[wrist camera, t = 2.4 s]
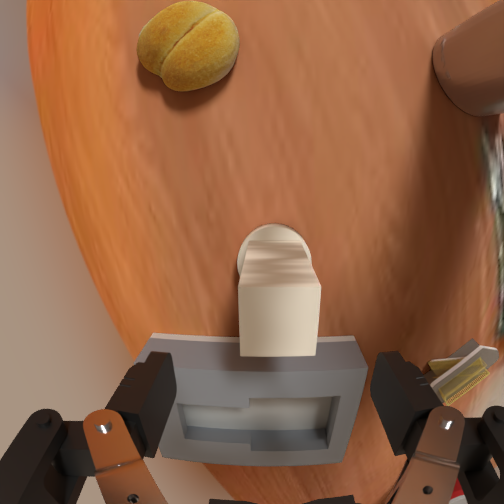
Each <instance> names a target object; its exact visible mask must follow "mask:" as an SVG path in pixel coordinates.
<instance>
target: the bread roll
mask: <svg viewBox="0 0 504 504" xmlns="http://www.w3.org/2000/svg"><path fill="white" fill-rule="evenodd" d="M239 45H240V44H239V35H238V30H237V28H236V26H235V24H234V22H233V21H232V19H231V18H230V17H229V16H228V15H227V14H225V13H224V12H222V11H220V10H218V9H216V8H214V7H213V6H211V5H208V4H206V3H203V2H197V1H183V2H178V3H175V4H172V5H170V6H169V7H167V8H165V9H163V10H162V11H161V12H159V13H158V14H157V15H156V16H154V17H153V18H152V19H151V20H150V21H149V22H148V23H147V24H146V25H145V26H144V27H143V29H142V30H141V32H140V34H139V39H138V43H137V55H138V58H139V60H140V62H141V63H142V65H143V66H144V67H145V68H146V69H147V70H148V71H150V72H152V73H154V74H156V75H158V76H160V77H161V78H162V79H163V82H164V83H165V85H166V86H167V87H168V88H170V89H172V90H175V91H191V90H196V89H200V88H203V87H206V86H208V85H211V84H213V83H215V82H217V81H219V80H220V79H222V78H223V77H224V76H225V75H226V74H227V73H228V72H229V71H230V70H231V68H232V67H233V65H234V62H235V60H236V57H237V55H238V50H239Z"/></svg>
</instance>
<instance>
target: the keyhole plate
mask: <svg viewBox="0 0 504 504" xmlns="http://www.w3.org/2000/svg"><path fill="white" fill-rule="evenodd" d="M151 351H157V352H168V353H171V355H172V360H173V366H174V372H175V378H176V383H177V393H176V398H175V401H174V404H173V406H172V409H171V412H170V415H169V417H168V420H167V423H166V426H165V429H164V432H163V434H162V437H161V440H160V443H159V448H160V451H161V454H162V457H165V458H171V459H178V460H185V461H193V462H202V463H212V464H224V465H240V466H302V465H318V464H330V463H340V462H342V460H343V457H344V454H345V451H346V448H347V445H348V442H349V439H350V436H351V432H352V429H353V426H354V422H355V419H356V415H357V411H358V408H359V404H360V400H361V396H362V392H363V388H364V384H365V380H366V376H367V371H368V366H367V363H366V361H365V359H364V357H363V355H362V353H361V350H360V348H359V346H358V344H357V342H356V340H355V337H354V335H353V336H331V337H317V344H316V354H315V356H281V357H258V356H240V337H216V336H194V335H177V334H163V333H153V334H152V336H151V337H150V339H149V340H148V342H147V343H146V345H145V346H144V348H143V349H142V351H141V352H140V354H139V356H138V357H137V359H136V360H135V362H134V365H135V364H136V363H138V362H143V363H144V362H145V360H146V359H147V357H148V355H149V353H150V352H151Z"/></svg>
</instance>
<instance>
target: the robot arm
mask: <svg viewBox="0 0 504 504" xmlns="http://www.w3.org/2000/svg"><path fill="white" fill-rule="evenodd" d="M433 65H434V69H435V73H436V76H437V78H438V81H439V83H440V85H441V86H442V88H443V90H444V91H445V93H446V94H447V96H448V97H449V98H450V99H451V100H452V102H453V103H454V104H455V105H456V106H458V107H459V108H460V109H461V110H463V111H464V112H466V113H468V114H470V115H474V116H488V115H495V114H501V113H504V0H499V1H497V2H495V3H494V4H492V5H490V6H489V7H487V8H485V9H484V10H482V11H481V12H479V13H477V14H476V15H474V16H472V17H471V18H469V19H468V20H466V21H465V22H463V23H461V24H460V25H458V26H457V27H455V28H454V29H452V30H451V31H449V32H448V33H446V34H445V35H443V36H442V37H440V38H439V39H438V40H437V41H436V44H435V46H434V49H433ZM370 392H371V397H372V400H373V402H374V405H375V407H376V409H377V412H378V414H379V417H380V419H381V422H382V424H383V427H384V429H385V432H386V434H387V437H388V439H389V442H390V444H391V447H392V450H393V452H394V455H395V456H397V455H402V454H406V456H407V460H406V461H405V463H404V466H403V468H402V470H401V472H400V474H399V476H398V478H397V480H396V482H395V484H394V486H393V488H392V490H391V492H390V494H389V496H388V497H387V499H386V501H385V503H384V504H449V502H450V499H451V496H452V493H453V489H454V486H455V483H456V479H457V478H458V480H459V483H460V485H461V488H462V490H463V493H464V495H465V498H466V500H467V503H468V504H504V407H502V406H491V407H489V408H487V409H486V411H485V412H484V414H483V416H482V418H464V416H463V414H462V413H461V412H460V411H459V410H457V409H455V408H453V407H450V406H444V405H443V404H442V402H441V401H440V399H439V398H438V396H437V395H436V393H435V392H434V390H433V389H432V387H431V386H430V384H428V381H427V380H426V378H424V375H423V374H422V372H421V371H420V369H419V368H418V367H416V366H415V365H414V364H412V363H411V362H405V360H404V359H403V357H402V356H401V354H400V353H399V352H398V351H390V352H380V353H379V354H378V356H377V360H376V364H375V368H374V372H373V376H372V380H371V386H370ZM176 393H177V383H176V378H175V372H174V366H173V360H172V355H171V353H168V352H157V351H151V352H150V353H149V355H148V357H147V359H146V360H145V362H144V363H143V362H138V363H136V364H135V365H134V366H132V367H131V368H130V369H129V370H128V371H127V373H126V375H125V376H124V379H122V381H121V383H120V386H118V388H117V389H116V391H115V392H114V394H113V396H112V397H111V399H110V401H109V402H108V404H107V406H106V407H105V409H101V410H97V411H94V412H92V413H91V414H89V415H88V416H87V417H86V418H85V420H84V421H63V420H62V417H61V416H60V414H59V413H58V412H57V411H55V410H52V409H41V410H38V411H36V412H34V413H33V414H32V415H31V416H30V417H29V418H28V420H27V421H26V423H25V424H24V426H23V427H22V428H21V430H20V431H19V433H18V434H17V436H16V437H15V439H14V440H13V442H12V443H11V445H10V446H9V448H8V449H7V451H6V452H5V454H4V455H3V457H2V458H1V460H0V504H76V502H77V500H78V498H79V495H80V493H81V490H82V488H83V485H84V483H85V480H86V478H87V476H95V477H96V480H97V483H98V485H99V488H100V490H101V493H102V496H103V498H104V501H105V503H106V504H168V503H167V501H166V500H165V498H164V496H163V495H162V493H161V492H160V490H159V488H158V486H157V484H156V483H155V481H154V479H153V477H152V476H151V474H150V472H149V470H148V468H147V466H146V465H145V463H144V461H143V458H144V456H145V457H150V458H154V457H155V454H156V451H157V449H158V446H159V443H160V440H161V437H162V434H163V432H164V429H165V426H166V423H167V420H168V417H169V415H170V412H171V409H172V406H173V404H174V401H175V398H176ZM492 457H493V458H494V460H495V462H496V464H497V466H498V468H499V470H500V479H499V478H498V476H497V474H496V472H495V470H494V468H493V466H492V464H491V462H490V460H491V458H492ZM209 504H256V503H252V502H247V501H233V500H219V499H210V500H209ZM304 504H360V503H355V501H354V496H353V495H348V496H341V497H333V498H324V499H318V500H314V501H311V502H307V503H304Z"/></svg>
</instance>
